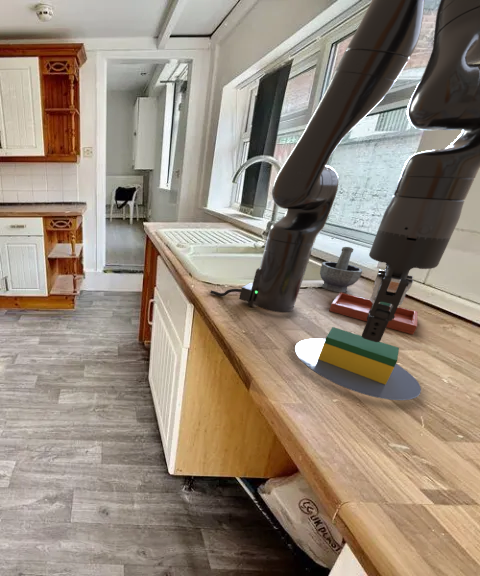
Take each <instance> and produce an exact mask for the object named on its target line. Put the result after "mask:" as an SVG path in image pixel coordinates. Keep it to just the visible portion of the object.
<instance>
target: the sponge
mask: <svg viewBox="0 0 480 576" xmlns="http://www.w3.org/2000/svg"><path fill="white" fill-rule="evenodd" d="M324 339H325V342H324V344H323V347H322V350H321V352H320V355H319V358H318V359H319V360H322V361H324V362H327V363H330V364H332V365H335V366H338V367H340V368H343V369H346V370H348V371H351V372H353V373H356V374H359V375H361V376H364V377H367V378H369V379H372V380H374V381H377V382H380V383H382V384H386V383H387V381H388V379H389V377H390V375H391V373H392V371H393V369H394V367H395V365H396V364H397V363H398V359H399V350H400V347H398V346H395V345H392V344H388V343H385V342H382V341H380V342H374V341H370V340H367V339H364V338H363V337H362V335H360V334H356V333H353V332H351V331H347V330H344V329H341V328H337V327H335V326H332V327H331V329H330V330H329V332H328V333H327V335H326V337H325V338H324Z"/></svg>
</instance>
